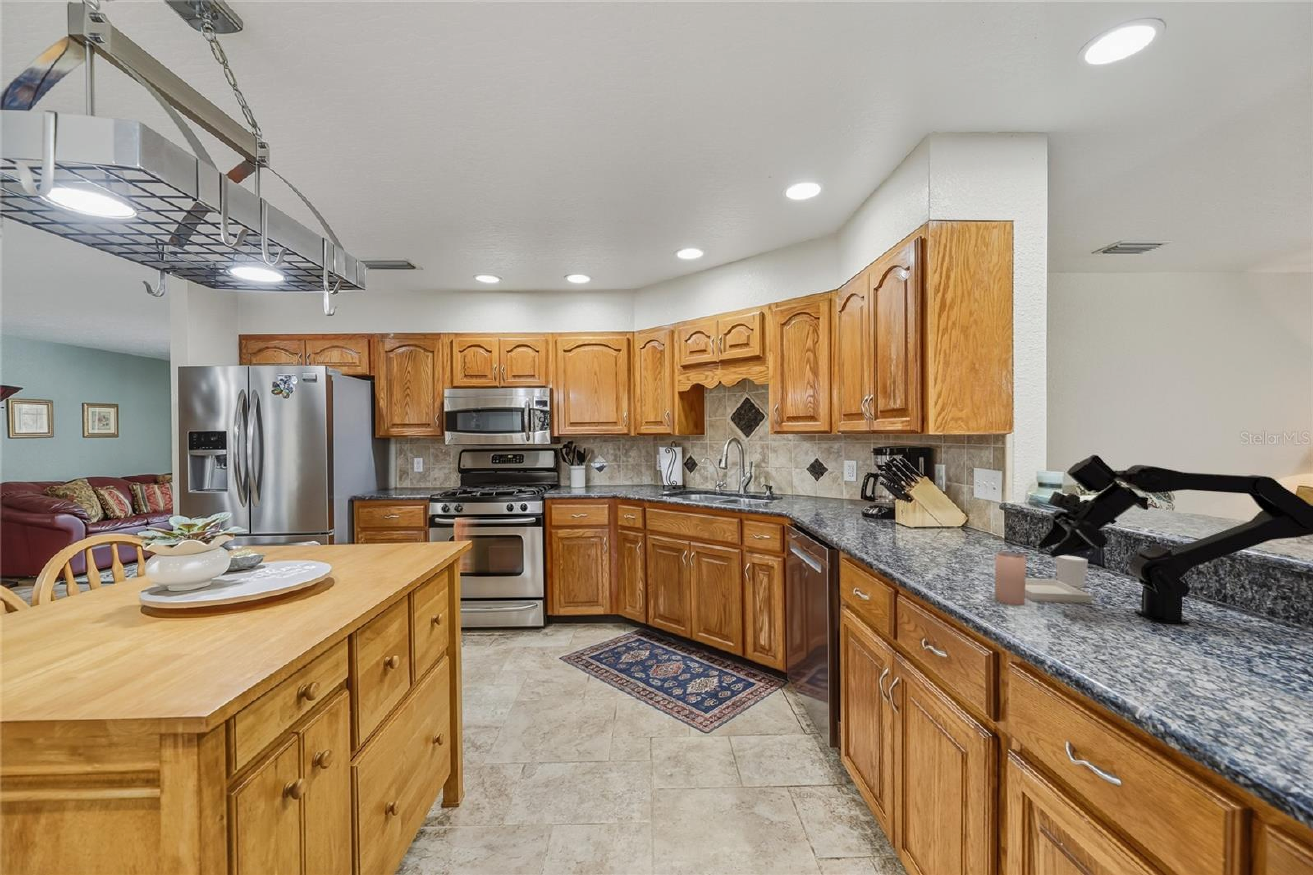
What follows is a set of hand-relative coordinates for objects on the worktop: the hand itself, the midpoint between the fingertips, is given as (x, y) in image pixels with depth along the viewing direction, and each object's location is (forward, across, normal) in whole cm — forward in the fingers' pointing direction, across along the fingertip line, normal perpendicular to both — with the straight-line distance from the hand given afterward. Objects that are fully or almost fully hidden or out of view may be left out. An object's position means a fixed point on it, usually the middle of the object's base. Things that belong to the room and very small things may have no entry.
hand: (1045, 551), depth 124 cm
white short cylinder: (0, -24, +18) cm, 30 cm away
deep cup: (+14, 0, +4) cm, 14 cm away
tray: (+7, -10, +11) cm, 16 cm away
